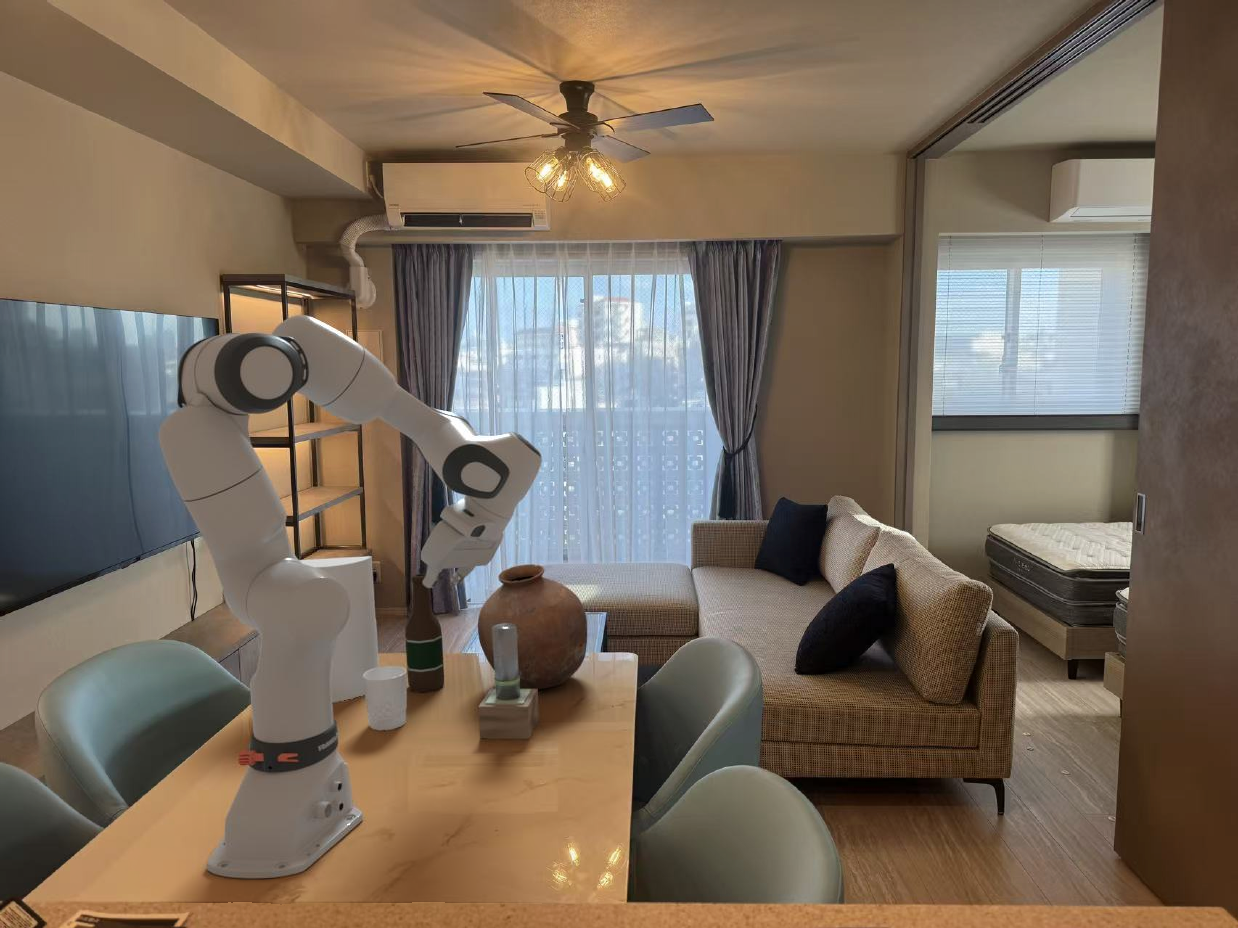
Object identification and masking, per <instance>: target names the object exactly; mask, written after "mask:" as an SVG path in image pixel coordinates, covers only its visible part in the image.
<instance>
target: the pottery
mask: <svg viewBox="0 0 1238 928" xmlns="http://www.w3.org/2000/svg"><path fill="white" fill-rule="evenodd" d="M544 572H545V567H544V566H542V565H540V564H533V563H532V564H521V565H520V564H518V565H515V566H512V567H511V566H510V567H509V568H507V569H504V570H502V571H501V572H500V573H499V574H498V581H499V582H500V583H501V584H502V585H501V586H499V587H498V588H497V589H496V590H495V591H493V593H492V594H491V595H490V596H489V598H488V599H486V601H485V602H484V603H483V605H482V606H481V609H480V611H479V615H478V620H477V632H478V633H477V634H478V640H479V644H480V647H481V650H482V651H483V655H484V656H485V658H486V660H487V661H488V663H489V665H490V667H491V669H492V670H493V671H494V655H493V639H492V627H493V626H495V625H498V624H503V623H511V624H515V625H516V631H517V648H518V665H519V675H520V689H538V690H541V689H547V688H549V689H550V688H553V687H556V686H558V685H560V684H564V683H565V681H567V680H569V678H570V679H571V677H572V676H574V675H575V674H576V672H577V671H578V670H579V669H580V667H581V666H582V664H583V662H584V661H585V658H586V653H587V645H588V621H587V620H588V618H587V614H586V610H585V608H584V606H583V603H582V601H581V600H580V598H579V597H578V595H577V594H576V593H574V592H573V590H572V589H570V588H569V587H567V586H565V585H564V584H562V583H560V582H557V581H555V580H552V579H550V578H546V577H543V575H544Z"/></svg>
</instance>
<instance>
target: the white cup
mask: <svg viewBox="0 0 1238 928" xmlns="http://www.w3.org/2000/svg"><path fill="white" fill-rule="evenodd" d="M363 680H364V689H365V695H364V696H365V702H366V710H367V715H368V716H367V717H368V725H369V728H371V730H375V731H382V730H383V731H384V730H385V731H391V730H396V729H399V728H401V727H403V726H404V725H405V724H406V722H407V705H408V704H407V703H408V702H407V700H408V698H407V697H408V695H407V694H408V691H407V688H408V687H407V684H408V681H407V668H405V667H403V666H400V665H386V666H385V665H384V666H379V667H378V668H374V669H371V670H369V671H367V672H365V673H364V674H363ZM398 727H399V728H398ZM395 728H396V729H395ZM383 731H382V732H383Z"/></svg>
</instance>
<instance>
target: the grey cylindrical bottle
mask: <svg viewBox="0 0 1238 928" xmlns="http://www.w3.org/2000/svg"><path fill="white" fill-rule="evenodd" d="M492 639H493V655H494V670H493V672H494V678H493V679H494V685H495V686H494V687H495V689H496V698H497V699H499V700H513V699H516V698H518V697H519V696H520V689H521V688H520V675H519V665H518V648H517V631H516V625H515V624H511V623H503V624H498V625H495V626H493V627H492Z"/></svg>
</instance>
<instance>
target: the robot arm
mask: <svg viewBox="0 0 1238 928" xmlns="http://www.w3.org/2000/svg"><path fill="white" fill-rule="evenodd" d="M177 383H178V384H177V385H178V389H177V405H178V409H176V410H175V411H174V412H172V413H171V414H169V415H168V416H167V418H165V420H164V421H163V422H162V424H161V425H160V427H159V429H158V442H159V445H160V449H161V453H162V455H163V459H164V463H165V465H166V467H167V470H168V472H169V473H168V474H170V477H171V480H172V481H173V484H174V486H175V489H176V491H178V494H179V495H180V496H179V497H180V498H181V499H182V501H183V503H184V505H185V507H186V509H187V511H188V513H189V514H190V516H191V518H192V520H193V521H194V523H195V525H196V528H197V529H198V531H199V532H200V535H201V536H202V539H203V540H204V542H205V544H206V546H207V548H208V550H209V552H210V555H211V557H212V560H213V563H214V566H215V569H216V573H217V576H218V579H219V581H220V584H221V586H222V590H223V598H224V601H225V604H226V605H227V607H228V609H229V611H230V612H231V613H232V615H234V616H235V618H237V620H238V621H239V622H240V623H242V624H243V625H245V626H247V627H248V628H251V629H254V630H256V631H257V632H258V635H259V638H260V649H259V650H260V651H259V656H258V661H257V668H256V670H255V673H254V674H253V675H252V677H251V679H250V682H249V691H250V705H251V716H252V727H253V728H252V729H253V732H252V733H251V735H250V742H249V744H248V750H245V749H243V750H241V751H239V754H238V755H239V756H238V758H237V759H238V764H239V766H247V765H248V768H247V770H246V773H245V775H244V776H243V779H242V780H241V783H240V784H239V787H238V790H237V791H236V794H235V796H234V798H233V801H232V803H231V805H230V807H229V810H228V812H227V814H226V816H225V820H224V821H225V822H224V835H223V837H222V839H221V840H220V842H219V843H218V845H217V846H216V848H215V849H214V851H213V852H212V854H211V855H210V856H209V858H208V859H207V861H206V870H207V871H208V872H209V873H211V874H214V875H217V876H222V877H227V878H235V879H236V878H237V879H270V878H278V877H286V876H290V875H295V874H299V873H302V872H304V871H305V870H306V869H308V868H309V867H310V866H312V865H313V864H314V863H315V862H316V861H317V860H318V859H320V858H321V857H322V856H323V855H324V854H325V853H327V851H329V850H330V849H331V848H333V846H334V845H336V844H337V843H339V841H340V840H342V839H343V838H344V837H345V836H346V835H347V834H349V832H350V831H351V830H353V829H354V828H355V827H356V826H358V825H359V824H360V823H361V822H362V821H363V819H364V816H363V815H364V814H363V812H362V810H361V809H359V808H357V807H356V806H355V804H354V796H353V790H352V789H353V788H352V783H351V782H352V781H351V776H350V771H349V769H350V768H349V765H348V763H346V761H345V760H344V759H343V757H342V756H341V754H340V753H339V751H338V746H339V728H338V724H337V720H336V719H335V718H334V710H333V709H334V708H333V702H332V688H331V667H332V659H333V653H334V648H335V643H336V639H337V636H338V635H339V633H340V632H341V631H342V630H343V628H344V627H345V625H346V623H347V621H348V618H349V614H350V600H349V596H348V594H347V592H346V590H345V589H344V587H343V586H342V585H341V584H340V583H339V582H338V581H337V580H336V579H334V578H333V577H332V576H331V575H330V574H328V573H327V572H325V571H324V570H321V569H319V568H315V567H312V566H309V565H305V564H302V563H301V562H300V561H299V560H300V559H299V558H297V556H296V555H295V553H294V551H293V549H292V545H291V543H290V539H289V535H288V530H287V526H286V521H287V517H288V515H287V512H286V511H287V510H286V509H285V507H284V505H283V504H282V500H281V499H280V497H279V495H278V493H277V491H276V489H275V487H274V485H273V483H272V480H271V479H270V476H269V475H268V473H267V471H266V469H265V467H264V465H263V463H262V461H261V459H260V458H259V456H258V454H257V452H256V450H255V449H254V447H253V445H252V441H251V438H250V433H249V432H250V431H249V420H250V415H255V414H256V415H261V414H267V413H270V412H272V411H274V410H277V409H279V408H281V407H282V406H285V404H286V403H287V402H288V401H290V399H292V398H293V396H294V395H295V394H296V393H297V394H300V395H302V396H303V397H305V398H306V399H307V400H308V401H310V402H312V403H313V404H315V405H317V406H318V407H319V408H320V409H323V410H324V411H325V412H327V413H329V414H330V415H332V416H334V417H336V418H339V419H341V420H343V421H345V422H347V423H351V424H353V425H357V426H358V425H363V424H367V423H368V424H369V423H370V422H373V421H375V420H376V419H378V420H381V421H383V422H385V423H387V424H388V425H390V427H392V428H394V429H395V430H396V431H399V432H400V433H402V434H404V435H405V436H407V437H408V438H409V439H411V440H412V441H413V443H414V445H415V448H416V450H418V453H419V454H420V456H421V457H422V458H423V459H424V461H426V462H427V464H428V465H430V467H431V469H433V471H434V472H435V473H436V475H437V476H438V477H439V480H441V481H442V483H443V484H444V485H445V486H446V487H447V488H448V489H450V490H451V491H453V492H454V493H456V494H460V495H463V496H465V497H463V498H461V499H459V500H458V501H457V502H455V503H453V504H449V505H447V506H445V507H444V508H443V510H442V511H441V513H440V516H439V517H440V518H441V519H442V520H440V521H439V522H438V523H437V524H436V525H435V527H434V528H433V529H432V531H431V533H430V534H429V536H428V538H427V540H426V542H425V543H424V545H423V547H422V548H421V549H422V550H421V551H420V560H421V561H422V562H424V564H426V565H427V568H426V573H425V574H426V576H425V578H424V580H423V582H422V583H423V585H424V586H426V587H427V588H429V589H433V588H435V587H436V585H437V583H438V582H439V579H438V576H439V573H442V572H443V569H456V568H458V569H457V570H456V571H454V572H453V574H452V575H451V577H450V579H449V581H450V582H451V583H453V585H455V586H456V585H457V586H458V585H461V584H463V581H464V580H465V578H466V577H468V575H470V574H471V573H472V572H473V571H474V570H475V569H476V567H481V566H482V567H483V566H487V565H488V564H489V563H490V562H491V561H492V560H493V558H494V557H495V555H496V553H497V551H498V549H499V548H500V545H501V543H502V541H503V539H504V531H505V529H507V526H508V525H509V523H510V522H511V519H512V517H513V516H514V514H515V513H514V512H515V510H516V508H517V506H518V504H519V503H520V502H521V501H522V500H523V499H524V498H525V497H526V495H527V494H528V491H530V488H531V487H532V485H533V484H534V482H535V480H536V477H537V476H538V473H539V471H540V469H541V466H542V461H543V459H542V454H541V453H540V450H538V449H537V448H536V446H534V445H533V444H532V443H531V442H530V441H528V440H527V439H526V438H524V437H523V436H522V435H521V434H519V433H518V432H515V431H508V432H507V433H504V434H500V435H480V434H478V433H477V432H476V431H475V430H474V428H473V427H472V426H471V424H470V422H469V421H468V419H466V418H465V417H463V416H462V415H460V414H458V413H455V412H452V411H447V410H441V409H437V408H434V407H431V406H429V405H428V404H426V403H425V402H423V401H422V400H421V399H419V398H417V397H416V396H415V395H413V394H412V393H410V392H409V391H408V390H406V389H404V388H403V387H401V386H400V385H399V384H398V383H397V380H396V377H395V375H394V374H393V373H392V372H391V371H390V369H388V367H387V365H385V364H384V363H383V362H382V361H381V360H380V359H378V358H377V357H376V356H375V355H374V354H373V353H372V352H371V351H369V350H368V349H367V348H365V347H364V346H363V345H361V344H360V343H358V341H356V340H354V339H353V338H351V337H350V336H348V335H346V334H345V333H343V332H342V331H340V330H338V329H336V328H335V327H333V326H331V325H329V324H327V323H325V322H323V321H321V320H319V319H317V318H314V317H312V316H310V315H307V314H298V315H293V316H291V317H288V318H287V319H285V320H283V321H282V322H280V323H279V324H278V325H277V326H276V327H275V329H273V331H272V332H271V334H270V333H263V332H249V333H248V332H247V333H238V332H229V333H223V334H219V335H215V336H210V337H206V338H202V339H200V340H198V341H195V343H193V344H192V345H191V346H189V348H187V349H186V351H185V352H184V353H183V355H181V358H180V361H179V363H178V368H177ZM183 404H184V405H183Z"/></svg>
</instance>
